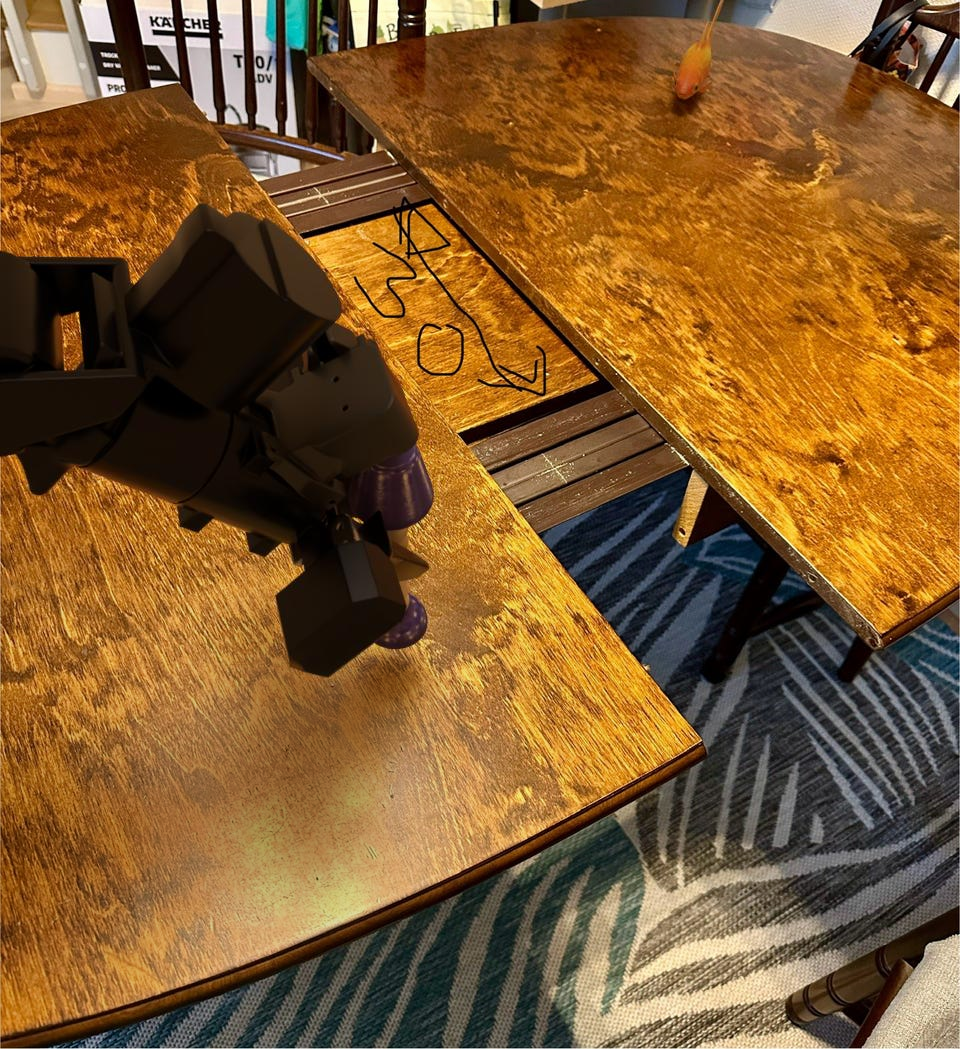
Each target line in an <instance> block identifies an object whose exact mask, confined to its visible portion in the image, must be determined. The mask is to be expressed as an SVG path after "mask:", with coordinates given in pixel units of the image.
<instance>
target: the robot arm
mask: <svg viewBox="0 0 960 1049" xmlns="http://www.w3.org/2000/svg"><path fill="white" fill-rule="evenodd" d="M77 313H78V319H79V320H78V322H79V330H80V341H81V342H80V343H81V352H82V353H81V354H82V360H81V361H80V362H79V363H78V365H77V366H76V367H75V368H74V369H68V370H66V369H65V362H64V361H65V360H64V348H63V334H62V322H61V320H62V319H61V318H63V317H66V316H69V315H72V314H73V315H74V314H77ZM342 314H343V306H342V301H341V299H340V296H339V294H338V291H337V290H336V288H335V286H334V284H333V282H332V281H331V280H330V278H329V276H328V275H327V274H326V272H325V271H324V270H323V269H322V267H321V266H320V265H319V264H318V262H317V261H316V260H315V259H314V258H313V256H311V254H310V253H309V252H308V251H307V250H306V249H305V247H303V246H302V245H301V244H300V243H299V242H298V241H297V240H296V239H295V238H293V237H292V235H290V234H289V233H288V232H286V231H285V230H284V229H282V228H281V227H280V226H279V225H277V224H276V223H275V222H273V221H271V219H268V218H267V217H263V219H260V218H258V217H257V216H255V215H252V214H249V213H246V212H242V211H232V212H231V213H230V214H228V215H227V216H226V215H225V214H223V213H222V212H220V211H218V209H215V208H214V207H213V206H211V205H210V204H209V203H207V202H201V203H197V204H196V206H194V208H193V209H192V210H191V211H190V212H189V214H188V215H187V216H186V217H185V218H184V219H183V221H182V222H181V224H180V225H179V226H178V229H177V231H176V233H175V235H174V236H173V239H172V240H171V242H169V244H168V246H166V247H165V249H164V250H163V251H162V252H161V254H160V255H159V256H158V257H156V259H155V260H154V261H153V263H152V264H151V265H150V266H149V267H148V268H147V270H145V271H144V273H142V275H141V276H140V278H138V280H137V281H135V283H132V278H131V272H130V266H129V262H128V261H127V260H126V259H125V258H123V257H120V256H27V255H26V256H25V255H24V256H17V255H15V254H14V253H11V252H8V251H5V250H1V249H0V458H4V457H8V456H14V455H15V456H16V458H17V459H18V460H19V462H20V465H21V467H22V470H23V473H24V475H25V478H26V482H27V484H28V490H29V493H31V494H32V495H34V496H39V497H40V496H46V494H48V493H49V492H50V491H51V489H53V488H54V487H55V486H56V485H57V483H59V481H60V480H61V479H62V478H63V477H64V476H65V475H66V474H67V473H69V471H70V470H71V469H72V468H74V467H76V468H78V469H81V470H83V471H86V472H89V473H91V474H94V475H96V476H99V477H102V478H105V479H107V480H109V481H112V482H115V483H117V484H120V485H123V486H125V487H128V488H130V489H133V490H136V491H139V492H141V493H143V494H146V495H149V496H150V497H151V496H152V497H154V498H156V499H160V500H162V501H165V502H166V503H169V504H172V505H175V506H176V510H177V517H178V521H179V522H178V523H179V527H180V528H182V529H186V530H188V531H190V532H193V533H196V534H198V533H200V532H201V531H202V530H203V529H204V528H205V527H207V525H208V524H210V523H211V522H212V521H213V520H214V521H217V522H219V523H222V524H224V525H227V526H229V527H232V528H235V529H238V530H240V531H243V532H244V533H245V537H246V542H247V546H248V547H247V548H248V552H249V553H251V554H254V555H256V556H260V557H262V558H266V557H267V556H268V555H270V554H271V553H272V552H273V551H274V550H275V549H277V548H278V547H279V546H280V545H281V544H285V545H288V549H289V550H288V551H289V554H290V557H291V562H292V565H293V566H296V567H299V568H301V567H302V566H303V568H304V570H303V571H302V572H301V573H300V574H299V575H298V576H297V577H295V578H294V579H293V580H292V581H291V582H289V583H288V584H287V585H285V586H284V587H283V588H281V590H280V591H278V592H277V593H276V594H274V597H275V604H276V609H277V615H278V619H279V624H280V628H281V632H282V637H283V642H284V647H285V652H286V656H287V661H288V665H289V668H290V669H291V668H292V669H294V670H297V671H300V672H302V673H305V674H306V673H307V674H310V675H314V676H319V677H321V678H326V679H329V678H330V677H332V676H333V675H335V674H336V673H337V672H338V671H340V670H341V669H342V668H344V667H345V666H347V665H348V664H349V663H350V662H352V661H353V660H355V659H356V658H357V657H358V656H359V655H361V654H363V652H365V651H367V649H369V648H370V647H371V646H373V645H374V644H375V642H376V641H378V640H379V639H380V638H382V637H383V636H384V635H386V634H387V633H388V632H390V631H391V630H392V629H394V628H395V627H396V626H398V625H399V624H400V623H402V620H403V617H404V614H405V611H406V608H407V605H406V602H405V599H404V595H403V592H402V589H401V586H400V583H399V582H400V581H405V580H408V581H409V580H414V579H418V578H420V577H421V576H423V575H424V574H426V573H427V572H428V571H429V569H430V565H429V563H428V562H427V561H426V560H425V559H424V558H422V557H421V556H420V555H418V554H417V553H415V552H413V551H412V550H410V549H409V548H408V549H407V548H405V547H403V546H401V545H400V544H398V543H396V542H394V541H393V540H391V539H390V538H389V535H388V532H387V529H386V526H385V523H384V520H383V517H382V513H381V511H380V510H378V511H377V512H376V513H374V514H373V515H372V516H371V517H370V518H368V519H367V520H366V521H365V522H362V523H361V522H359V521H357V520H354V519H358V518H357V517H356V515H355V514H354V512H353V511H352V509H351V507H350V503H349V487H350V483H351V480H352V476H353V475H355V474H357V473H359V472H361V471H363V470H365V469H367V468H369V467H371V466H373V465H375V464H377V463H379V462H381V461H383V460H385V459H388V458H390V457H392V456H400V455H402V454H404V453H406V452H407V451H409V450H410V449H411V448H413V446H414V445H415V444H416V445H417V442H418V441H419V437H420V430H419V427H418V425H417V422H416V420H415V418H414V415H413V413H412V411H411V408H410V406H409V403H408V399H407V397H406V393H405V391H404V388H403V387H402V386H401V384H400V382H399V381H398V379H397V378H396V376H395V374H394V373H393V371H392V370H391V368H390V367H389V365H388V364H387V362H386V360H385V359H384V357H383V355H382V353H381V352H382V351H381V350H380V347H379V344H378V342H377V341H376V340H375V339H373V338H367V337H366V336H365V334H364V333H361V334H359V335H356V334H355V332H353V330H351V329H349V328H347V327H345V326H344V325H342V324H339V323H338V322H337V321H338V320H339V319H340V318H342V317H341V316H342Z"/></svg>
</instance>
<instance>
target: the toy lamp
mask: <svg viewBox="0 0 960 1049" xmlns="http://www.w3.org/2000/svg"><path fill="white" fill-rule="evenodd" d="M434 496H435V492H434V487H433V483H432V480H431V478H430V474H429V471H428V470H427V466H426V464H425V461H424V458H423V456H422V454H421V451H420V449H419V447H418V444H417V443H416V444H415V445H414V446H413V448H411V449H410V450H409V451H407V452H406V453H404V454H402V455H400V456H392V457H390V458H388V459H385V460H383V461H381V462H379V463H377V464H375V465H373V466H371V467H369V468H367V469H365V470H363V471H361V472H359V473H357V474H355V475H353V476H352V480H351V483H350V487H349V503H350V507H351V509H352V511H353V512H354V514H355V515H356V517H357V518H356V519H358V520H359V521H360V522H362V523H364V522H365V521H366V520H367V519H368V518H370V517H371V516H372V515H373V514H374V513H376V512H377V511H378V510H380V511H381V513H382V517H383V520H384V523H385V526H386V529H387V532H388V535H389V538H390V539H391V540H393V541H394V542H396V543H398V544H400V545H401V546H403V547H405V548H407V549H408V550H409V543H410V542H409V537H408V532H409V529H410V527H413V526H415V525H417V524H418V523H420V522H421V521H422V520H424V519H425V517H426V516H427V515H428V514H429V513H430V511H431V509H432V507H433V505H434V504H433V503H434V499H435V497H434ZM399 583H400V586H401V589H402V592H403V595H404V599H405V602H406V605H407V608H406V611H405V614H404V617H403V620H402V623H400V624H399V625H398V626H396V627H395V628H394V629H392V630H391V631H390V632H388V633H387V634H386V635H384V636H383V637H382V638H380V639H379V640H378V641H376V642H375V643H374V644H375V645H376V646H378V647H380V648H383V649H387V650H403V649H407V648H410V647H413V646H414V645H416V644H417V643H419V641H421V640H422V638H423V637H424V636H425V635H426V633H427V629H428V623H429V620H428V614H427V613H428V612H427V610H426V608H425V606H424V605H423V602H422V601H421V600H420V599H419V598H418V597H417V596H415V595H414V594H412V593H410V592H409V591H410V582H409V580H405V581H400V582H399Z"/></svg>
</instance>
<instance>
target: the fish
mask: <svg viewBox="0 0 960 1049" xmlns="http://www.w3.org/2000/svg"><path fill="white" fill-rule="evenodd" d="M724 2H725V1H724V0H720V1H719V4H718V5H717V8H716V11H715V14H714V15H713V19H712V21H711V24H710V19H707V23H706V25H705V27H704V29H703V31H702V35H701V37H700V40H699V41H697V42H695V43H694V44H692V45H691V46H690V47H689V48H688V49H687V50H686V52H685V54H684V56H683V57H682V59H681V62H680V63H679V66H678V69H677V71H675V70H672V78H673V85H674V90H675V92H676V95H677V97H678V99H681V100H687V99H689V98H691V97H692V96H694V95H695V94H696V93H701V94H702V93H703V92H705V91H707V89H709V88H710V86H711V85H712V84H713V83H714V80H711V77H708V75H709V74H710V71H711V70H712V67H713V63H712V60H713V58H712V46H713V39H714V30H713V27H714V25H715V24H716V22H717V19H718V16H719V14H720V12H721V9H722V7H723V4H724Z"/></svg>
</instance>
